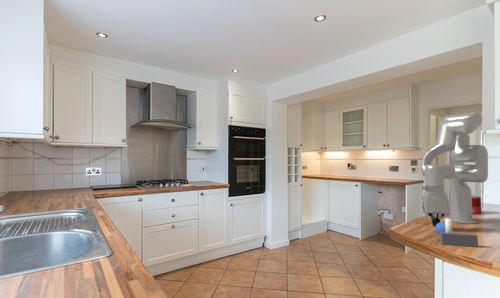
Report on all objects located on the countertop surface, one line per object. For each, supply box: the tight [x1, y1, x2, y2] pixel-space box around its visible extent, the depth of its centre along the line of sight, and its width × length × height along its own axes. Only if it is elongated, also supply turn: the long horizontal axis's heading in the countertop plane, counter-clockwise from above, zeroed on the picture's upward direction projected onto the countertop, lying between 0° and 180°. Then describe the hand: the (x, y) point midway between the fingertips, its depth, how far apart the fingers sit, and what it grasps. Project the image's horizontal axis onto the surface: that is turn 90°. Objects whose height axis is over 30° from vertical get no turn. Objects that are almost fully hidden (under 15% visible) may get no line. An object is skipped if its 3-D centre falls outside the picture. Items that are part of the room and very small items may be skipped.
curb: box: [439, 232, 479, 248], centre depth 103 cm, size 2×12×4 cm, turn 72°
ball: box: [434, 221, 446, 235], centre depth 116 cm, size 6×6×6 cm
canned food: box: [471, 194, 482, 215], centre depth 161 cm, size 8×8×11 cm
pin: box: [444, 217, 453, 233], centre depth 112 cm, size 2×2×9 cm
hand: (436, 226), depth 125 cm, fingers closed
